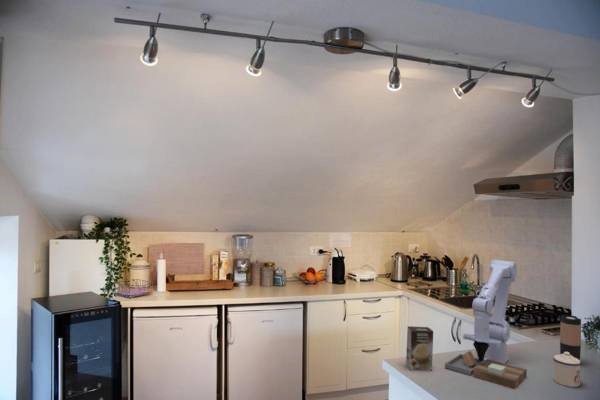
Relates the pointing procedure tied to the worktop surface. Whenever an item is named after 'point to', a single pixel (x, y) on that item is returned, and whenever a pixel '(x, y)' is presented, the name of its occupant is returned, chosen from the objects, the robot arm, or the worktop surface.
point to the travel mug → (570, 335)
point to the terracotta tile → (469, 358)
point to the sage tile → (496, 369)
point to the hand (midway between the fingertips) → (481, 360)
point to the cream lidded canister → (566, 370)
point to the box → (461, 365)
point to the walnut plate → (508, 379)
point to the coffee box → (419, 348)
